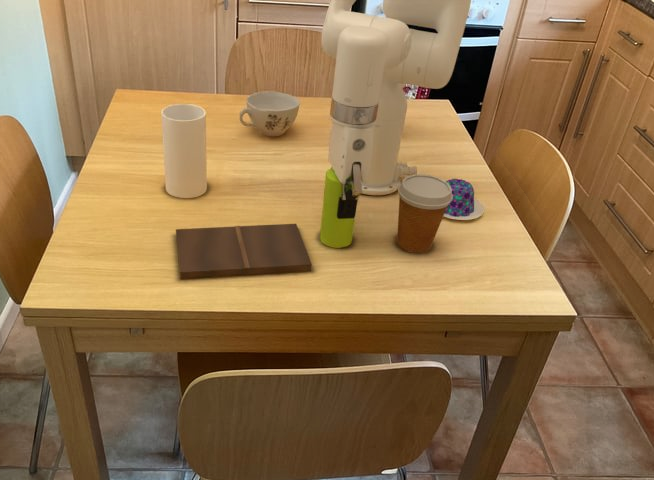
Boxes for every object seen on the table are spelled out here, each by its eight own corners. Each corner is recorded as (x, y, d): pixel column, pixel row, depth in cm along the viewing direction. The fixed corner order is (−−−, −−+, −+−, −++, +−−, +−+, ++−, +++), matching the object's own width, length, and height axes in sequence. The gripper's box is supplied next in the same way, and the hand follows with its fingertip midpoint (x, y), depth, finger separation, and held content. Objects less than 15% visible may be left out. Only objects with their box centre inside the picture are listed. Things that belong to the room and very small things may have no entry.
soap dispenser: (358, 233, 117) (371, 131, 105) (345, 251, 112) (357, 146, 100) (329, 225, 119) (339, 124, 107) (315, 242, 114) (324, 138, 102)
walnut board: (295, 230, 117) (296, 223, 116) (311, 271, 107) (311, 263, 106) (176, 236, 113) (175, 228, 112) (180, 279, 103) (180, 271, 102)
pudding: (423, 218, 123) (429, 194, 120) (423, 189, 133) (428, 167, 130) (485, 227, 122) (492, 203, 119) (481, 197, 132) (487, 175, 129)
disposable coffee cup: (428, 264, 111) (442, 205, 103) (379, 246, 114) (390, 187, 107) (447, 241, 117) (462, 183, 110) (400, 224, 121) (412, 167, 114)
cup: (199, 201, 123) (197, 123, 113) (159, 194, 124) (154, 117, 114) (211, 182, 129) (211, 107, 120) (173, 176, 130) (170, 101, 121)
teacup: (282, 118, 158) (284, 87, 153) (307, 138, 150) (310, 105, 145) (227, 127, 152) (228, 94, 147) (250, 148, 143) (251, 114, 138)
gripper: (393, 132, 95) (375, 233, 105) (361, 90, 108) (347, 184, 119) (345, 132, 93) (332, 235, 104) (318, 90, 106) (309, 185, 117)
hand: (340, 207), depth 111 cm, fingers closed on soap dispenser, 6 cm apart
